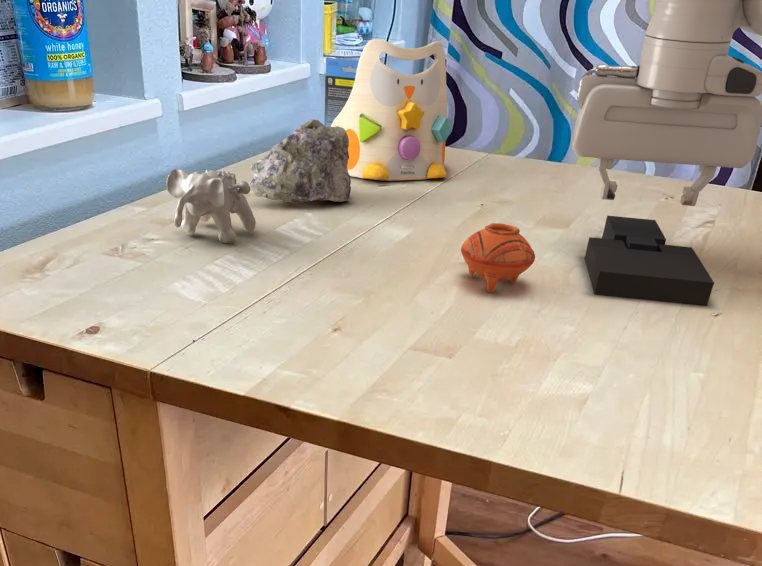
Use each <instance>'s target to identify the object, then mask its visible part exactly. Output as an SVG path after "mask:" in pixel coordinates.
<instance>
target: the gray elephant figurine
mask: <svg viewBox="0 0 762 566" xmlns="http://www.w3.org/2000/svg"><path fill="white" fill-rule="evenodd" d="M236 177H237V176H236V174H235V173H231V172H230V171H225V170H211V169H206V170H205V172H203V173H202V172H200V171H198V170H196V171H194V172H191V173H188V172H187V171H185V170H183V169H180V168H176V169H175V168H174V169H173V170H171V171H170V173H169V174H168V176H167V179H166V190H167V192H168V194H169V195H170V196H172V197H173V198H175V199H179V200H178V202H177V205H176V208H175V213H174V219H173V222H174V226H175V227H176V228H181V229H182V231H183V232H184V233H185V234H187V235H190V236H191V235H194V233H196V230H197V226H198V224H199V222H202V223H206V222H209V221H210V220H211V218H212V220H213V222H214V224H215V226H216V228H217V231H218V233H217V238H218V240H219V241H220V242H222V244H223V243H224V244H231V243H233V242H235V241H236V239H237V236H238V235H237V233H236V231H235V230H234V227H233V224H232V218H231V214H236V215H237V216H238V217H239V219H240V222H241V223H242V227H243V228H244V230H245V231H246V232H247V233H249V234H250V233H253V232H254V231H255V228H256V225H257V224H256V223H257V222H256V218H255V216H254V214H253V211H252V208H251V207H250V205H249V202H248V200H247V198H246V195H248V194H249V193H250V192H251V188H250V183H248V181H246V180H245V181H243V180H242V181H240V183H237V178H236Z"/></svg>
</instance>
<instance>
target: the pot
mask: <svg viewBox="0 0 762 566" xmlns="http://www.w3.org/2000/svg"><path fill="white" fill-rule="evenodd" d="M520 232H521V230H520V228H518V227H516V226H513V225H509V224H505V223H500V222H499V223H497V222H495V223H494V222H493V223H489V224H488V225H485V226H484V228H482V229H480V230H478V231H476V232H474V233H473V234H471V235H470V236H468V238H466V239H465V241H464V242H463V243H462V245H461V248H460V252H461V255H462V258H463V260H464V261H465V263H466V265H467V267H468V272H469V273H468V274H469V276H470V277H471V278H473V277H474V276H475V274H476V275H479V276H480V277H482V278H484V279H485V282H486V289H487V292H488V293H491V294H492V293H493V292H494V291H495V289H496V286H497V285H498V282H499V281H504V280H509V279H510V282H512V283H516V281H517V279H518V278H519V276H520V275H521V274H522V273H524V272H525V271H527V270H528V269H529V268H530V267H531V266H532V265H533V264H534V262H535V260H536V253H535V251H534V249H533V248H532V246H531V245H530V243H529V242H528V240H527V239H526V238H525V237H524V236H523V235H522V234H520Z"/></svg>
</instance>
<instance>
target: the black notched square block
mask: <svg viewBox="0 0 762 566" xmlns="http://www.w3.org/2000/svg"><path fill="white" fill-rule="evenodd" d="M584 261H585V265H586V269H587V272H588V275H589V279H590V283H591V287H592V291H593V294H594V295H602V296H611V297H619V298H620V297H621V298H628V299H629V298H631V299H641V300H650V301H651V300H652V301H660V302H670V303H678V304H691V305H699V306H708V303H709V300H710V297H711V294H712V291H713V288H714V285H715V281H714V280H713V278H712V277H711V275H710V274H709V272H708V271H707V268H706V267H705V266H704V264H703V262H702V261H701V259H700V257H699V256H698V255H697V253H696V251H695V249H694V248H693V247H692V246H683V245H674V244H673V245H671V244H665V245H662V244H658V248H657V251H646V250H636V249H627V248H626V246H625V244H624V241H622V240H612V239H602V237H588V241H587V245H586V250H585V254H584Z"/></svg>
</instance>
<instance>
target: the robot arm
mask: <svg viewBox="0 0 762 566" xmlns="http://www.w3.org/2000/svg"><path fill="white" fill-rule="evenodd" d="M654 5H655V6H654V10H653V14H652V17H651V19H650V21H649V23H648V25H647V28H646V30H645V34H644V38H643V43H642V47H641V51H640V56H639V61H638V65H637V66H635V65H610V64H597V65H596V66H595V67H593V68H591V69H589V70H588V71H586V72H585V73H584V74H583V75H582V77H581V79H580V81H579V84H578V91H577V95H576V97H577V98H576V100H577V104H578V106H579V109H578V112H577V116H576V119H575V122H574V126H573V131H572V135H571V138H570V147H571V150H572V151H573V153H574V154H575V156H577V157H578V158H588V159H589V158H590V159H597V168H598V171H599V174H600V177H601V180H602V186H601V191H600V199H601V200H606V201H607V200H609V201H614V200H615V198H616V194H615V193H616V192H617V189H618V183H617V182H616V181H613V180H610V178H609V174H608V171H607V170H611V169H612V166H613V162H614V160H618V161H633V162H647V163H661V164H674V165H689V166H698V172H699V173H700V175H699V177H697V179H696V180H695V181H694V183H693V184H692V185H691V186H683V190H682V195H681V197H680V204H681V206H688V207H695V206H696V204H697V202H698V198H699V195H700V192H702V191H703V189H704V188H705V187H706V186H707V185H708V184H709V183H710V182H711V180H713V178H715V174H716V172H717V168H718V167H719V168H730V169H731V168H732V169H743V168H745V167H746V166H747V165H748V164H750V162H752V160H753V159H754V156H755V155H756V149H757V148H758V147H757V146H758V143H759V139H760V135H761V131H762V130H761V129H762V102H761V101H760V99H758V98H757V97H759V96H761V95H762V71H761V70H759V69H758V68H756V67H754V66H752V65H750V64H748V63H745V61H744V60H742V59H740V58H739V57H736V56H729V50H730V46H731V44H732V43H731V42H732V39H733V35H734V33H735V31H737V29H741V30H743V31H744V32H747V33H750V34H753V35H758V36H759V37H762V0H655V4H654ZM594 73H595V75H593V74H594Z"/></svg>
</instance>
